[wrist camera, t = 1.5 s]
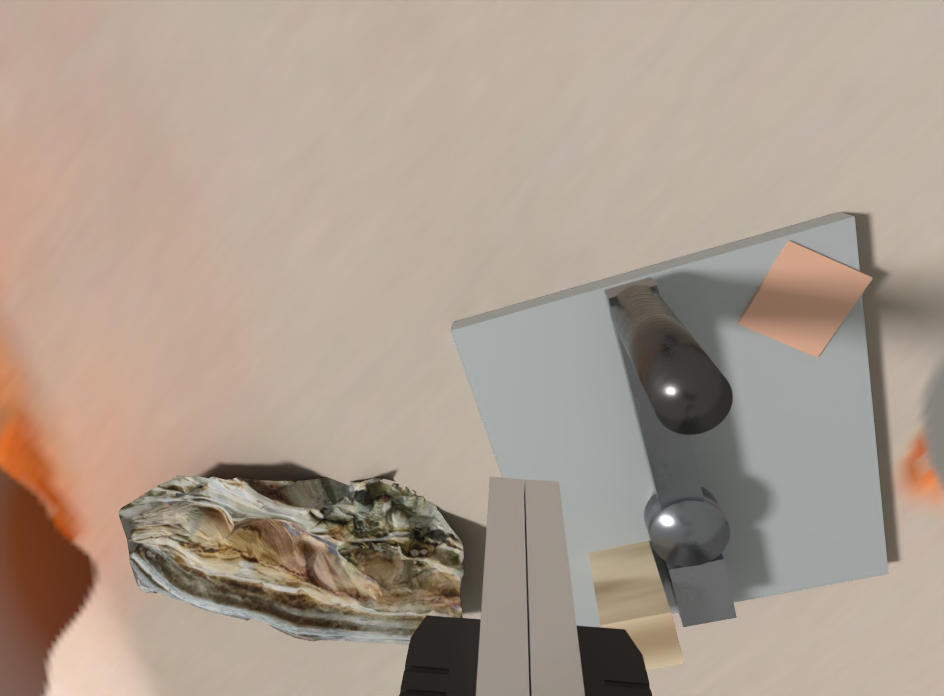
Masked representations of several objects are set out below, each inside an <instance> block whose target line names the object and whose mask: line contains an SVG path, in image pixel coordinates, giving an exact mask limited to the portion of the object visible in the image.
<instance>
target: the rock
mask: <svg viewBox="0 0 944 696" xmlns="http://www.w3.org/2000/svg"><path fill="white" fill-rule="evenodd" d="M379 480H382V478H373V479H370V480H365V481H363V482H355V481H353V482H351V485H350V486H348V485H346V484H343V483H341V482H338V481H335V480H332V479H330V478H327V477H324V478H319V479H312V480H303V481H297V482H293V481H264V480H255V479H248V478H239V477H236V478H234V479H229V480H224V479H220V478H217V477H210V478H204V477H199V476H192V477H184V476H176V477H174V478H173V479H171V480H170V481H168V482H166V483H163V484H161V485H159V486H157V487H155V488H154V489H152V490H150V491H148V492H147V493H145V494H143V495H142V496H140V497H139V498H137V499H135V500H134V501H132V502H131V503H129V504H127V505H126V506H124V507H122V508H121V509H120V511H119V517H120V520H121V523H122V526H123V529H124V532H125V535H126V538H127V543H128V549H129V558H130V565H131V567H132V570H133V573H134V576H135V579H136V582H137V587H138V588H140V589H141V590H143V591H145V592H147V593H149V592H152V593H160V594H162V595H164V596H167V597H169V598H172V599H177V600H180V601H183V602H186V603H188V604H190V605H193V606H196V607H199V608H201V609H204V610H207V611H210V612H214V613H217V614H222V615H227V616H231V617H236V618H240V619H244V620H249V619H256V620H259V621H261V622H264V623H267V624H268V625H270V626H272V627H273V628H275V629H277V630H279V631H281V632H283V633H285V634H287V635H290V636H292V637H295V638H299V639H304V640H309V641H317V640H337V641H353V642H364V643H395V644H410V639H411V637H412V635H413V634H414V632H415V631H416V629H417V628H418V627H419V625H420V624H421V622H422V621H423V620H424V618H425V617H426V615H430V616H442V617H455V618H462V604H461V599H460V584H461V580H462V576H463V575H464V567H463V565H462V563H463V559H464V554H463V545H462V541H461V540H460V539H459V537H458V536H457V535H456V534H455V532H454V531H453V530H452V529H451V527H450V526H449V525H448V524H447V522H446V521H445V519H444V518H443V516H442V515H441V513H440V512H439V511H438V510H437V507H436V505H435V504H433V503H431V502H429V501H427V500H425V499H424V497H423V496H417V495H416V494H415V492H414V491H413V490H411V491H409V489H408V488H406V487H403V488H401V487H399V486H397V485H395V484H394V483H393V484H392V485H388V484H383V483H380V481H379Z"/></svg>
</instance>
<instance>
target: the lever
mask: <svg viewBox="0 0 944 696" xmlns="http://www.w3.org/2000/svg"><path fill="white" fill-rule="evenodd" d="M604 292H605V296H606V300H607V304H608V308H609V312H610V316H611V320H612V324H613V328H614V332H615V336H616V340H617V344H618V348H619V352H620V356H621V359H622V363H623V367H624V371H625V375H626V379H627V383H628V387H629V391H630V395H631V399H632V403H633V407H634V411H635V415H636V419H637V423H638V427H639V431H640V435H641V439H642V443H643V447H644V451H645V455H646V459H647V463H648V467H649V471H650V475H651V479H652V483H653V487H654V491H655V494H654V495H653V496H652V497H651V498H650V499H649V501H648V502H647V504H646V506H645V510H644V521H645V525H646V528H647V531H648V534H649V537H650V540H651V544H652V546H653V549H654V551H655V552H656V553H657V555H658V556H659V557H660V558H662V559H663V560H664V563H665V567H666V571H667V575H668V579H669V583H670V587H671V591H672V594H673V597H674V600H675V603H676V606H677V609H678V612H679V615H680V618H681V621H682V624H683V627H686V626H692V625H697V624H703V623H709V622H714V621H720V620H725V619H731V618H736V613H735V608H734V603H733V599H732V594H731V589H730V584H729V580H728V575H727V570H726V566H725V561H724V558H723V556H722V554H721V553H722V552H723V550H724V549H725V548H726V546H727V544H728V542H729V538H730V527H729V524H728V522H727V520H726V518H725V516H724V514H723V512H722V510H721V508H720V506H719V504H718V502H717V500H716V499H715V497H714V496H713V495H712V493H711V492H709V491H708V490H707V489H705V488H703V487H701V484H700V480H699V475H698V470H697V466H696V461H695V457H694V452H693V447H692V443H691V438H690V435H696V434H701V433H704V432H707V431H709V430H711V429H713V428H715V427H716V426H718V425H719V424H720V423H721V422H722V421H723V420H724V419H725V418H726V416H727V415H728V413H729V411H730V409H731V406H732V402H733V393H732V389H731V386H730V384H729V382H728V381H727V379H726V378H725V377H724V375H723V374H722V373H721V372H720V370H719V369H718V368H717V367H716V365H715V364H714V363H713V362H712V360H711V359H710V358H709V356H708V355H707V354H706V353H705V351H704V350H703V349H702V348H701V346H700V345H699V344H698V343H697V341H696V340H695V339H694V338H693V336H692V335H691V334H690V333H689V331H688V330H687V329H686V328H685V326H684V325H683V324H682V322H681V321H680V320H679V319H678V317H677V316H676V315H675V314H674V312H673V311H672V310H671V309H670V307H669V306H668V305H667V304H666V302H665V301H664V300H663V299H662V297H661V296H660V295H659V291H658V287H657V284H656V283H655V282H654V280H653V279H652V278H651V277H648V278H645V279H641V280H637V281H634V282H630V283H627V284H623V285H620V286H616V287H613V288H609V289H606V290H604Z"/></svg>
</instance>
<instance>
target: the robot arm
mask: <svg viewBox="0 0 944 696" xmlns="http://www.w3.org/2000/svg"><path fill="white" fill-rule="evenodd" d="M399 696H652V693H651V690H650V688H649V680H648V676H647V672H646V667H645V663H644V659H643V655H642V653H641V652H640V650H639V649H638V648H637V646H636V645H635V643H634V642H633V640H632V639H631V637H630V636H629V634H628V633H627V632H626V630H625V629H614V628H602V627H589V626H577V625H576V618H575V610H574V601H573V593H572V585H571V577H570V569H569V560H568V552H567V544H566V536H565V528H564V519H563V511H562V503H561V495H560V487H559V482H558V481H543V480H529V479H525V486H524V479H514V478H500V477H490V484H489V499H488V515H487V530H486V546H485V561H484V577H483V592H482V608H481V620H480V619H467V618H455V617H442V616H430V615H426V617H425V618H424V620H423V621H422V622H421V624H420V625H419V627H418V628H417V629H416V631H415V632H414V634H413V635H412V637H411V639H410V644H409V649H408V654H407V659H406V664H405V671H404V674H403V680H402V685H401V692H400V695H399Z"/></svg>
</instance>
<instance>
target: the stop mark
mask: <svg viewBox="0 0 944 696" xmlns="http://www.w3.org/2000/svg"><path fill="white" fill-rule="evenodd" d="M872 279H873V278H872V277H870V276H868V275H866V274H863V273H861V272H859V271H857V270H854V269H852V268H850V267H847V266H845V265H843V264H841V263H838V262H836V261H834V260H832V259H829V258H827V257H825V256H822V255H820V254H818V253H816V252H813V251H811V250H809V249H807V248H804V247H802V246H800V245H798V244H795V243H793V242H791V241H788V242H787V243H786V245H785V247H784V248H783V250H782V252H781V253H780V255H779V256H778V258H777V260H776V261H775V263H774V264H773V266H772V268H771V269H770V271H769V272H768V274H767V276H766V277H765V279H764V280H763V282H762V284H761V285H760V287H759V288H758V290H757V292H756V293H755V295H754V297H753V298H752V300H751V301H750V303H749V305H748V306H747V308H746V309H745V311H744V313H743V314H742V316H741V317H740V319H739V321H738V322H737V324H739V325H741V326H744V327H746V328H748V329H751V330H753V331H755V332H758V333H760V334H762V335H765V336H767V337H769V338H772V339H774V340H777V341H779V342H781V343H784V344H786V345H788V346H791V347H793V348H795V349H798V350H800V351H803V352H805V353H807V354H810V355H812V356H814V357H817V358H818V356H819V355H820V354H821V352H822V351H823V349H824V348H825V346H826V345H827V344H828V342H829V341H830V339H831V338H832V336H833V335H834V333H835V332H836V331H837V329H838V328H839V326H840V325H841V323H842V322H843V321H844V319H845V318H846V316H847V315H848V313H849V312H850V311H851V309H852V308H853V306H854V305H855V303H856V302H857V300H858V299H859V298H860V296H861V295H862V293H863V292H864V290H865V289H866V288H867V286H868V285H869V283H870V282H871V280H872Z"/></svg>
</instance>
